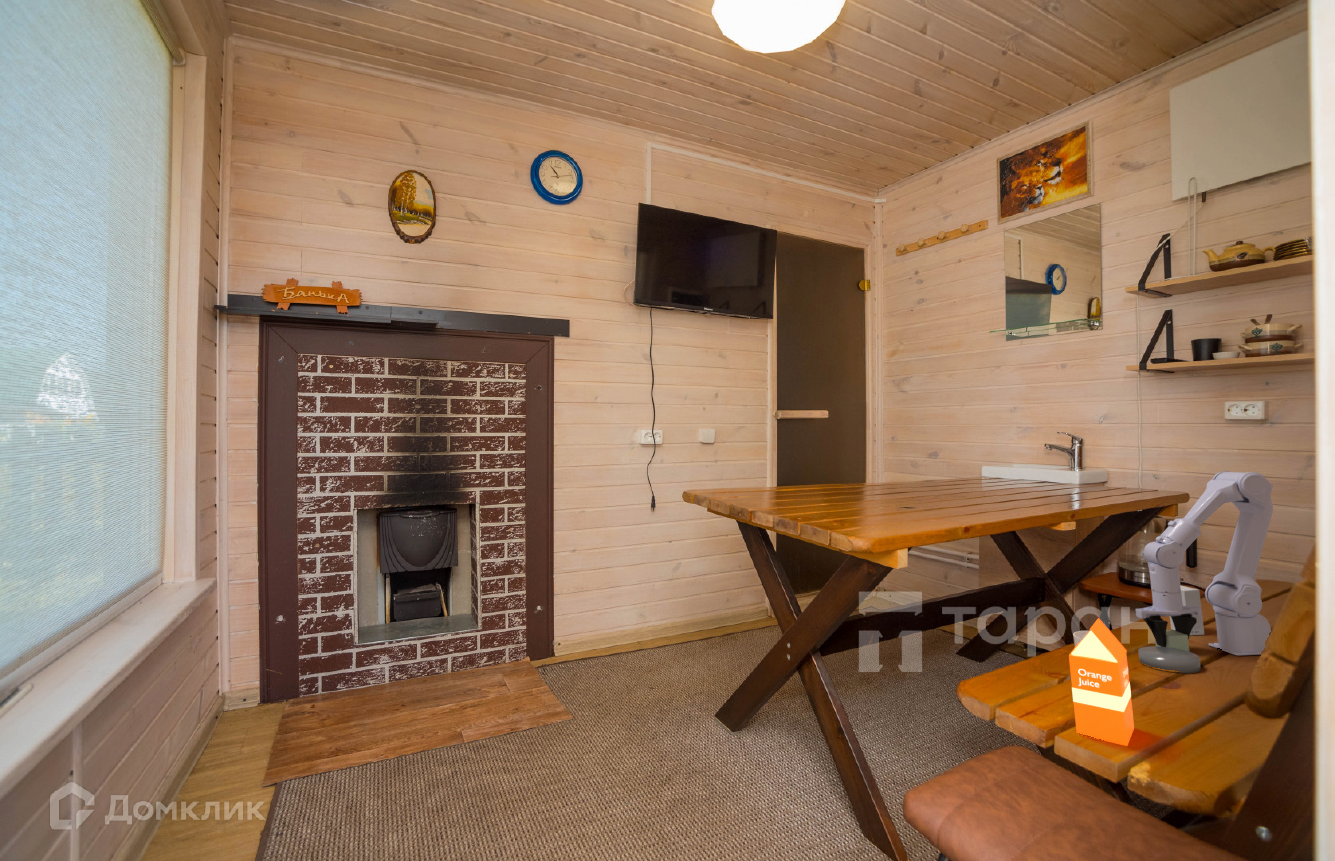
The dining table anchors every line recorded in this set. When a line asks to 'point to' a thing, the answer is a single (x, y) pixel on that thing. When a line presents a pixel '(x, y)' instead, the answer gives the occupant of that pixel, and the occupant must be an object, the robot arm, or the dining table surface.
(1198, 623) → the skincare box
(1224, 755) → the dining table surface
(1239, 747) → the dining table surface
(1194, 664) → the charcoal base
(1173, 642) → the green cube
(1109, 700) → the orange juice
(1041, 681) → the dining table surface
